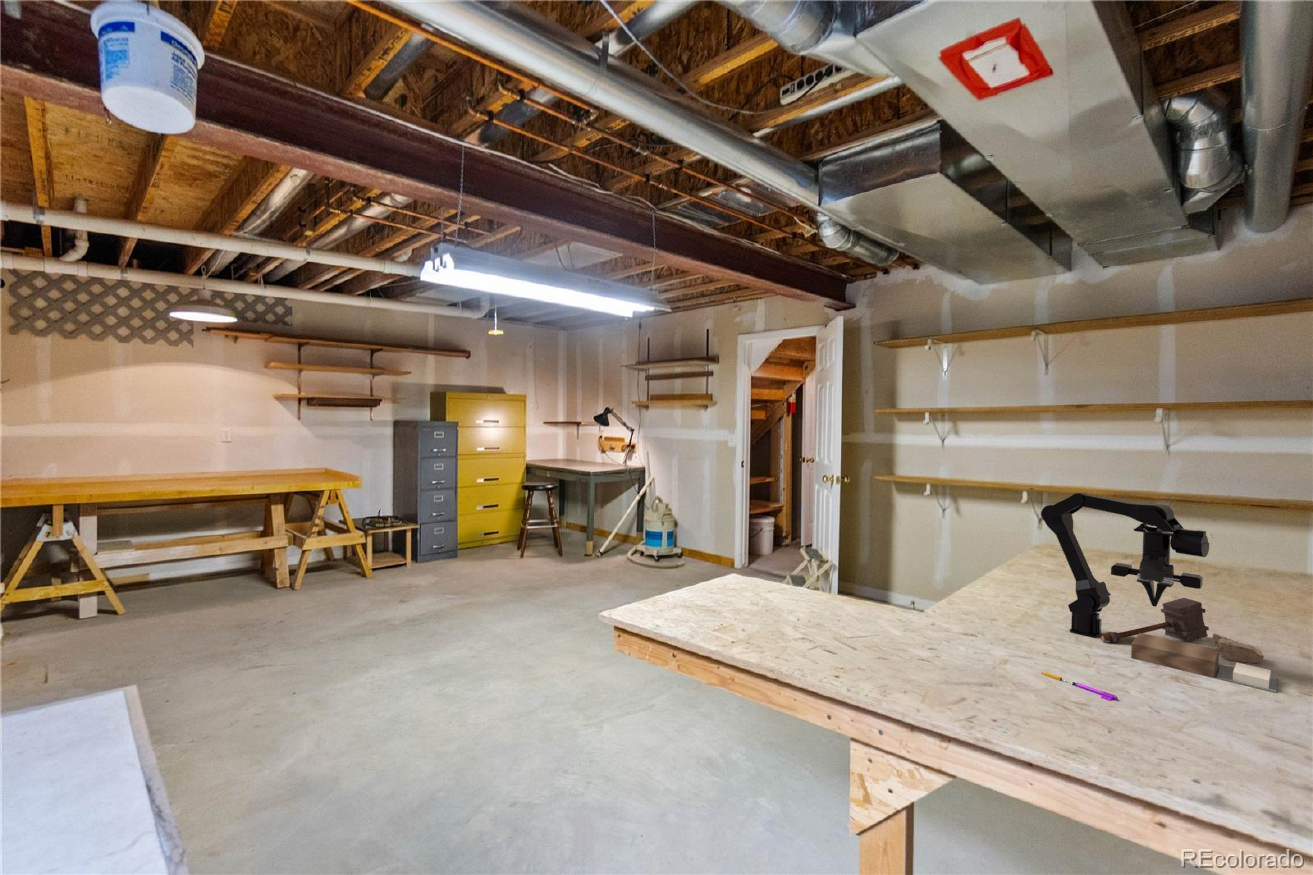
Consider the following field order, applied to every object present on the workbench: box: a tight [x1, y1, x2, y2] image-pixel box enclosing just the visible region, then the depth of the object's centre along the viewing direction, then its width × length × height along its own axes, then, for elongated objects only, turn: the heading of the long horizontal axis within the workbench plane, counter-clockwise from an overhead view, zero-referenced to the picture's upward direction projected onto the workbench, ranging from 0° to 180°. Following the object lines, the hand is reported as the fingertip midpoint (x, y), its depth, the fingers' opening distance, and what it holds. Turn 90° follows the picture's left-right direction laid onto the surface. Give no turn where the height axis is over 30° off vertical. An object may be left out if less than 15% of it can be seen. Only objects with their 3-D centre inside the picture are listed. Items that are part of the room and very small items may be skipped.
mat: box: [1216, 664, 1278, 694], centre depth 143 cm, size 10×12×1 cm
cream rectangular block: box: [1233, 662, 1272, 689], centre depth 142 cm, size 6×9×2 cm, turn 131°
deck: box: [1130, 633, 1220, 679], centre depth 153 cm, size 16×12×4 cm
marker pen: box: [1040, 671, 1119, 702], centre depth 137 cm, size 3×1×16 cm
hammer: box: [1100, 597, 1210, 643], centre depth 169 cm, size 7×33×10 cm, turn 100°
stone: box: [1212, 632, 1264, 664], centre depth 157 cm, size 9×11×5 cm
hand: (1154, 606), depth 160 cm, fingers closed
